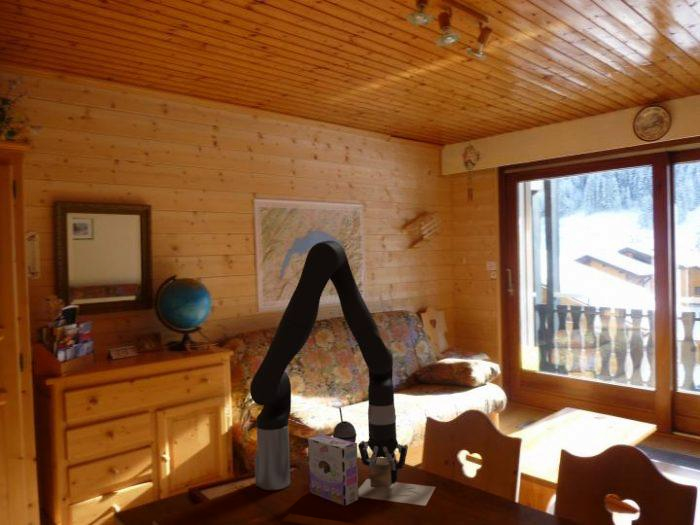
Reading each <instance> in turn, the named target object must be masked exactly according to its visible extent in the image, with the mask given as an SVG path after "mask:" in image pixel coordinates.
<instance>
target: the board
mask: <svg viewBox="0 0 700 525" xmlns="http://www.w3.org/2000/svg"><path fill="white" fill-rule="evenodd" d="M435 489H436V486H429V485H421V484H414V483H405V482H397V481H396V482H395V484H392V485H391V486H390V488H389V489H384V488H376V487H371V482H370V478H366V479H365V481H364V482H363V483H362V484H361V485H360V486H359V487H358V492H359V498H364V499H373V500H379V501H386V502H387V501H388V502H394V503H402V504H410V505H419V506H424V507H425V506H427V504H428V503H429V500H430V499H431V496H432V495H433V493H434V491H435Z"/></svg>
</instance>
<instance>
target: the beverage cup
mask: <svg viewBox="0 0 700 525" xmlns="http://www.w3.org/2000/svg"><path fill="white" fill-rule="evenodd" d="M338 408H339V409H338V410H339V416H340V422H338V423H337V424H336V425H335V427H334V428H333V434H332V437H335V438H339V439H343V440H347V441H350V442H354V443H356V440H357V435H358V434H357V431H356V428H355V426H354V425H353V424H352V423H351V422H349V421H346V420H345V421H344V419H343V413H342V407H338Z"/></svg>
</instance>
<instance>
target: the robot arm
mask: <svg viewBox="0 0 700 525" xmlns="http://www.w3.org/2000/svg"><path fill="white" fill-rule="evenodd" d="M299 277H300V278H299V280H298V282H297V286H296V287H295V289H294V291H293V293H292V296H291V297H290V300H288V301H289V302H288V304H287V306H286V308H285V310H284V312H283V315H282V317H281V319H280V321H279V323H278V326H277V329H276V331H275V334H274V335H273V338H272V340H271V343H270V345H269V347H268V350H267V351H266V354H265V355H264V358H263V360H262V362H261V363H260V365H259V367H258V368H257V370H256V371H255V374H254V375H253V378H252V379H251V381H250V382H251V383H250V387H249V392H250V397H251V399H252V401H253V402H254V403H255V404H256V405H259V406H263V407H262V409H261V411H260V412H259V413H258V415H257V417H256V443H257V444H256V445H257V448H256V450H257V451H255V453H254V469H255V470H254V477H255V482H254V483H255V487H259V488H260V489H262V490H266V491H277V490H281V489H285V488H287V487H288V486H290V485H291V466H290V465H291V464H290V463H291V462H290V437H289V436H290V435H289V430H290V429H289V418H290V416H291V412H292V411H291V410H292V409H291V408H292V386H291V385H292V384H291V379H290V377H289V375H288V374H287V372H286V369H287V368H288V366H289V364H290V363H291V362H292V361H293V359H295V357H296V356H297V355H298V353H299V352H300V351H301V350H302V349H303V348H304V346H305V345H306V343H307V342H308V341H309V339H310V336H311V333H312V331H313V329H314V327H315V324H316V321H317V319H318V313H319V307H320V303H321V302H320V301H321V297H322V294H323V292H324V291H325V288H326V286H327V284H328V283H329V280H330V281H331V283H332V285H333V287H334V289H335V292H336V293H337V296H338V299H339V300H338V301H339V303H340V304H339V305H340V307H341V311H342V314H343V318H344V320H345V322H346V325H347V327H348V328H349V330H350V332H351V335H352V336H353V338H354V340H355V341H356V343H357V345H358V348H359V350H360V354H361V356H362V358H363V361H364V362H365V365H366V367H367V368H368V381H369V383H368V388H367V394H368V395H367V397H368V408H367V417H368V418H367V420H368V421H367V424H368V440H367V441H365V440H361V441H360V442H359V443H358V444H357V448H358V449H359V453H360V454H359V455H360V457H361V458H360V459H361V461H362V462H361V463H362V464H363V466H368V468H369V469H370V468H371V467H372V465H373V464H374V463H375V462H376V461H377V460H378V459H379V458H385V459H387V460H388V462H389V463H390V466H391V468H392V470H391V480H392V484H395V482H397V481H398V479H399V470H401V469H403V468H404V466H405V465H406V464H405V463H406V459H407V454H408V449H409V446H408V445H407V444H404V445H403V444H400V443H399V441H398V440H397V422H396V421H397V415H396V407H395V393H394V391H395V390H394V385H393V384H394V383H393V373H394V372H393V368H394V366H393V362H394V361H393V360H394V358H393V357H394V356H393V353H392V351H391V350H390V349H389V348H388V347H387V346H386V345H385V342H384V341H383V339H382V337H381V334H380V331H379V328H378V326H377V323H376V322H375V320H374V318H373V316H372V313H371V312H370V310H369V308H368V307H367V305H366V303H365V300H364V298H363V296H362V293H361V292H360V289H359V286H358V285H357V283H356V279H355V277H354V274H353V272H352V269H351V266H350V263H349V259H348V256H347V254H346V251H345V248H344V247H343V246H342V245H341V244H340V243H339V242H337V241H335V240H324V241H321V242H320V241H319V242H317V243H315V244H314V245H313V246H312V247H311V248H310V249H309V250H308V252H307V255H306V258H305V260H304V264H303V268H302V271H301V275H300V276H299ZM368 448H369V449H370V450H371V452H372V454H371V456H369V453H368ZM396 449H397V450H398V453H399V458H398V460H397V456H396V454H395V451H396Z"/></svg>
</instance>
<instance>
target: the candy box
mask: <svg viewBox="0 0 700 525" xmlns="http://www.w3.org/2000/svg"><path fill="white" fill-rule="evenodd" d="M306 440H307V459H308V460H307V462H308V479H309V480H308V484H309V485H308V486H309V493H311V494H313V495H316V496H319V497H321V498H323V499H325V500H328V501H331V502H333V503H336V504H339V505H342V506H344V507H346V506H348V505H350V504H352V503H354V502H356V501H358V500H360V497H359V492H358V489H359V470H358V469H359V468H358V467H359V465H358V462H359V461H358V443H357V442H355V443H354V442H350V441H347V440H343V439H339V438H335V437H333V436H330V435H328V434H324V433H320V434H317V435H314V436H312V437H309V438H307V439H306Z"/></svg>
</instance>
